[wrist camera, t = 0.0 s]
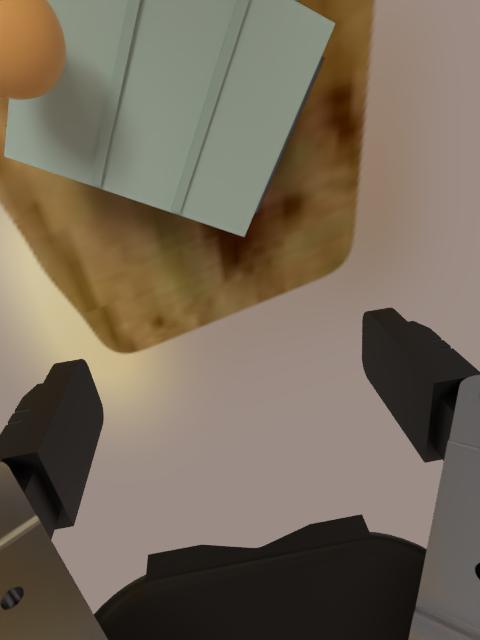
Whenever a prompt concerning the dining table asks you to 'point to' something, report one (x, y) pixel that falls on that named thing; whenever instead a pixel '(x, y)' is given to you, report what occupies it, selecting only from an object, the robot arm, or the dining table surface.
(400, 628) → the robot arm
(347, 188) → the dining table surface
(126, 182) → the lid
